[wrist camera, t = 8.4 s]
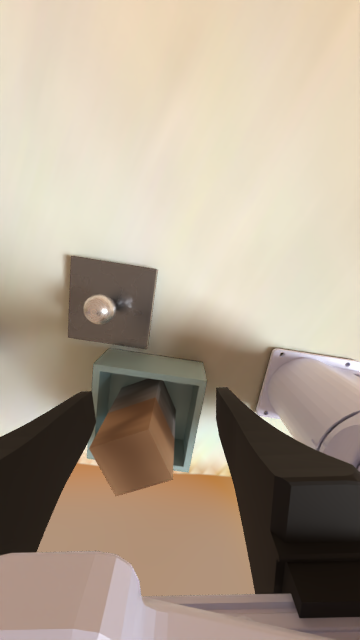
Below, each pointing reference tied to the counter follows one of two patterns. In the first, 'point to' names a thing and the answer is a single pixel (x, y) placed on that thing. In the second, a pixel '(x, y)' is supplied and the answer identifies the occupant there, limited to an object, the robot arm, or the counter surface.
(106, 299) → the stud mount
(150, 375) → the bin
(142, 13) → the counter surface
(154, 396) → the brown rectangular block
